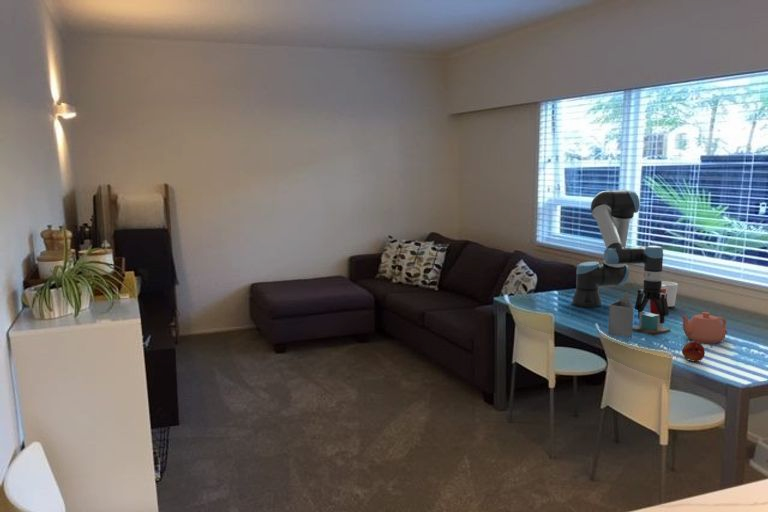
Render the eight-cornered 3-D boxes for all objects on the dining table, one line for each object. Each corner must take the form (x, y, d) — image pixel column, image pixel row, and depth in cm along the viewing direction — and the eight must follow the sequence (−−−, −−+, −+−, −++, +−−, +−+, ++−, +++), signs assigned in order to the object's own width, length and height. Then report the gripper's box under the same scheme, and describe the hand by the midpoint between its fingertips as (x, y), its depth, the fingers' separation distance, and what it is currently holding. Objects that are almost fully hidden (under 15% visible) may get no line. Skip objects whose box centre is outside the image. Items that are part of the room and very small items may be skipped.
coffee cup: (667, 315, 302) (668, 286, 300) (649, 315, 304) (651, 286, 302) (663, 311, 310) (664, 283, 308) (646, 311, 312) (647, 283, 310)
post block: (630, 329, 279) (631, 317, 278) (647, 325, 285) (647, 313, 284) (653, 335, 269) (654, 322, 268) (670, 331, 275) (670, 318, 274)
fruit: (682, 363, 232) (683, 343, 231) (680, 357, 239) (681, 337, 238) (705, 365, 229) (706, 345, 228) (702, 358, 237) (703, 339, 235)
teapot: (689, 346, 252) (691, 318, 250) (668, 336, 267) (669, 309, 265) (738, 344, 254) (740, 315, 252) (714, 334, 269) (715, 307, 267)
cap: (641, 328, 277) (642, 314, 276) (648, 326, 280) (649, 312, 279) (651, 330, 273) (652, 316, 272) (658, 328, 276) (659, 315, 275)
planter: (602, 328, 282) (603, 288, 280) (619, 328, 282) (621, 288, 279) (614, 338, 266) (616, 296, 263) (632, 338, 266) (634, 295, 263)
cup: (671, 309, 314) (673, 286, 312) (653, 306, 321) (654, 283, 319) (679, 306, 320) (681, 283, 318) (661, 303, 328) (662, 280, 326)
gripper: (627, 277, 281) (625, 323, 284) (669, 284, 262) (666, 334, 266) (637, 275, 284) (635, 321, 288) (679, 282, 266) (677, 331, 269)
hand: (650, 327), depth 277 cm, fingers open, 9 cm apart
